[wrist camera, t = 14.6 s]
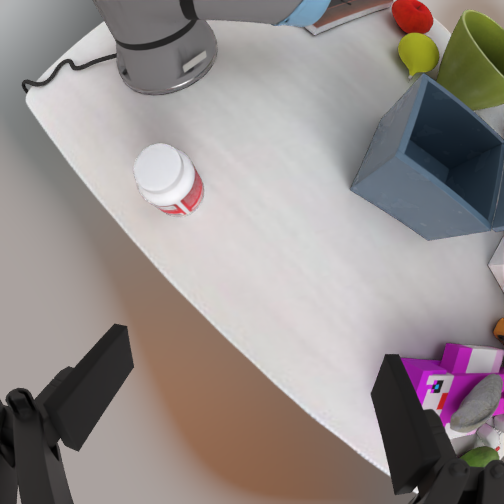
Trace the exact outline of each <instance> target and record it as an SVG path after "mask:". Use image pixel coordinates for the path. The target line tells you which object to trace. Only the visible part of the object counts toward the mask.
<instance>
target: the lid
mask: <svg viewBox="0 0 504 504" xmlns="http://www.w3.org/2000/svg"><path fill="white" fill-rule="evenodd" d="M492 229H493V230H494V231H495V232H499V231H504V169H503V175H502V181H501V187H500V192H499V198H498V203H497V207H496V212H495V216H494V220H493V225H492Z"/></svg>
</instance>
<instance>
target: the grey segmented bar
mask: <svg viewBox="0 0 504 504" xmlns="http://www.w3.org/2000/svg"><path fill="white" fill-rule="evenodd" d="M494 425H495V427H491V426H490V425H488V424H486V423H484V424H483V425H482V426H481V427H480V428H479V429H478V430H477V435H478V436H479V438H480V439H481V440H482V442H483V443H484V445H486V446H488V447H491V448H493V449H495V448H497V447H498V446H499V445H500V434H502V433H504V414H499V415H496V416H495V417H494ZM494 428H495V429H494ZM496 429H497V430H499V432H500V431H501V433H500V434H498V433H499V432H497V431H496Z"/></svg>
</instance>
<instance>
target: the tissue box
mask: <svg viewBox="0 0 504 504" xmlns="http://www.w3.org/2000/svg"><path fill="white" fill-rule="evenodd" d="M488 266H489V268H490V269H491V271H492V273H493V275H494V276H495V278H496V280H497V281H498V283H499V285H500V287H501V289H502V290H503V292H504V236H503V238H502V240H501V242H500V244H499V246H498V248H497V249H496V251H495V253H494V255H493V257H492V258H491V260H490V262H489V264H488Z"/></svg>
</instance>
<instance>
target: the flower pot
mask: <svg viewBox="0 0 504 504" xmlns="http://www.w3.org/2000/svg"><path fill="white" fill-rule="evenodd" d="M436 82H437V83H439V84H440V85H441V86H443V87H444V88H445V89H447V90H448V91H449V92H450V93H452V94H453V95H454V96H455V97H457V98H458V99H459V100H460V101H462V102H463V103H464V104H465V105H466V106H468V107H469V108H470V109H471V110H472V111H473V110H480V109H485V108H490V107H494V106H499V105H502V104H504V29H503V28H502V27H500V26H499V25H498V24H497V23H496V22H495V21H493V20H492V19H491V18H489V17H487V16H486V15H484V14H482V13H480V12H477V11H475V10H466V11H464V12H463V14H462V16H461V17H460V19H459V21H458V23H457V25H456V27H455V29H454V31H453V33H452V35H451V37H450V40H449V42H448V45H447V47H446V50H445V52H444V55H443V58H442V61H441V64H440V68H439V71H438V75H437V79H436Z"/></svg>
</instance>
